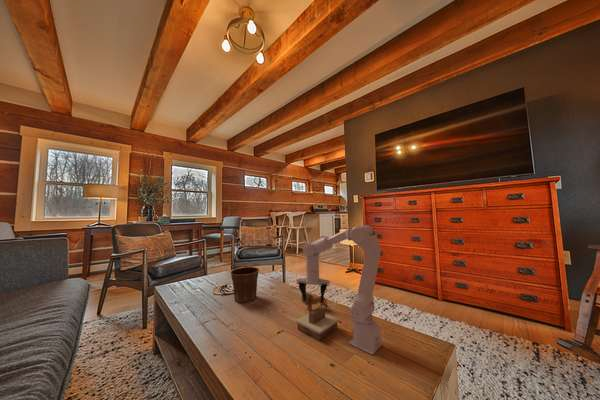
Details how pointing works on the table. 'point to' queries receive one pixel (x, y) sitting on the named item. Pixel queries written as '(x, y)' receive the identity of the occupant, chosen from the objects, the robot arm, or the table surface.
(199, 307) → the table surface
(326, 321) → the lid
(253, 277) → the plant pot
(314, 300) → the lion figurine
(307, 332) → the wooden tray
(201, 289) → the table surface
